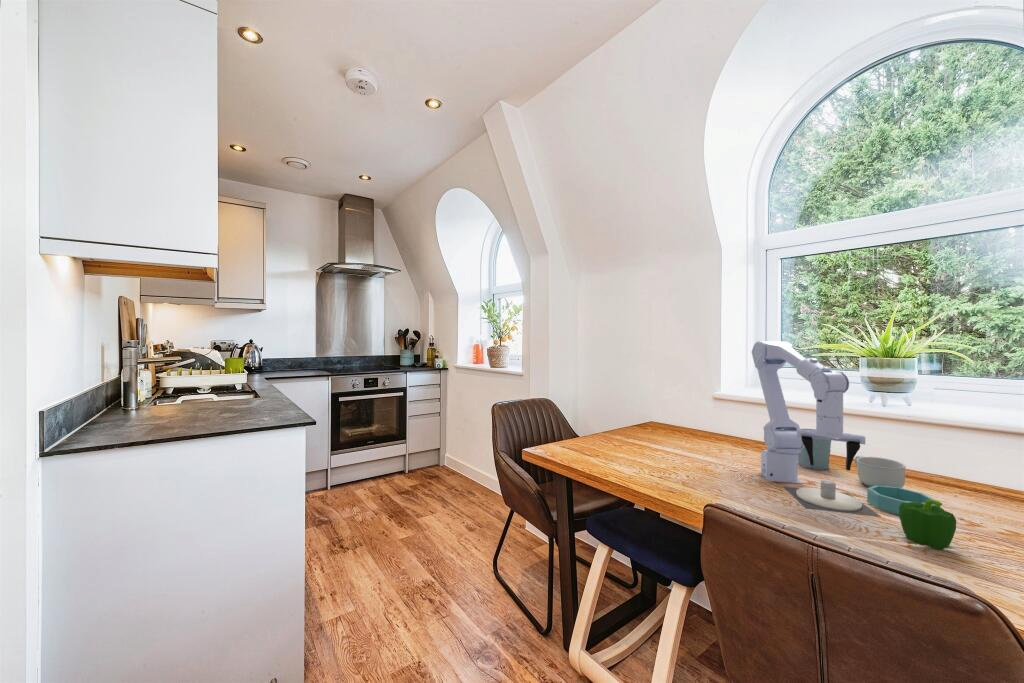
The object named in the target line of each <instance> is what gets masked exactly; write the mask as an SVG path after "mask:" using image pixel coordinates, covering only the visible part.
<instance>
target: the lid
mask: <svg viewBox="0 0 1024 683" xmlns="http://www.w3.org/2000/svg"><path fill="white" fill-rule="evenodd" d="M836 485H837V484H836V482H833V481H830V480H820V488H818V487H799V488H800V489H797V491H796V495H797V497H798V498H800V499H801V500H803V501H805V502H808V503H810V504H813V505H816V506H819V507H823V508H828V509H833V510H840V511H858V510H860V509H862V503H863V502H862V501H860V500H859V499H857V498H856V497H854V496H853V497H851V496H849V495H846V494H843V493H839V492H840V491H837V490H836V489H837V487H836Z"/></svg>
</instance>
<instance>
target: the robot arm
mask: <svg viewBox="0 0 1024 683" xmlns="http://www.w3.org/2000/svg"><path fill="white" fill-rule="evenodd" d="M751 355H752V359H753V363H754V367H755V368H756V369H757V373H758V378H759V380H760V385H761V389H762V394H763V397H764V401H765V405H766V409H767V414H768V418H769V421H768V422H767V423H765V425H764V426H763V442H764V444H765V445H766V447H767V449H763V450H762V451H761V454H760V455H761V456H760V458H761V460H760V474H761V475H762V476H763V477H764V478H765V479H766V480H767V481H772V482H780V483H781V482H782V483H791V484H792V483H793V484H804V482H803V481H801V479H800V478H798V477H799V476H798V475H799V463H798V453H801V450H802V449H803V448H804V446H805V448H806V450H807V453H808V455H809V459H810V465H813V466H814V461H813V439H812V438H816V439H825V440H831V441H835V442H845V446H846V456H845V458H846V459H845V470H846V471H849V472H850V471H851V467H852V464H853V461H854V460H855V457H856V455H857V453H858V452H859V450H860V448H861V445H866V436H865V435H859V434H853V433H845V432H844V393H846V392H847V391H848V390H849V388H850V380H849V378H848V376H847V375H846V374H845V373H844V372H843V371H832V369H831V368H830V367H829V366H825V365H824V364H822V363H820V362H819V360H818V359H817V358H813V357H812V358H810V357H809V358H806V357H804V356H803V355H802V354H801V353H799V352H798V351H797V350H795V349H794V346H793V344H792V343H790V342H789V341H786V340H782V341H762V340H758V341H755V343H754V345H753V347H752V349H751ZM786 363H788V364H790V365H791V366H793V367H794V368H796V373H797V374H798V375H800V376H801V377H802V378H803V379H805V380H806V381H808V382H809V383H810V386H811V389H812V390H813V397H814V399H815V401H816V403H815V404H816V411H815V412H816V415H815V416H816V420H815V422H816V426H815V428H816V430H803V429H804V428H801V427H800V424H798V423H797V422H795V421H794V420H793V419H791V418H790V415H789V411H788V407H787V404H786V400H785V398H784V393H783V389H782V386H781V382H780V379H779V375H778V374H779V373H778V371H779V370H780V369H782V368H783V367H784V366H785V365H786ZM821 436H822V437H821ZM826 437H827V438H826Z"/></svg>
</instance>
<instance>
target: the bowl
mask: <svg viewBox="0 0 1024 683" xmlns="http://www.w3.org/2000/svg"><path fill="white" fill-rule="evenodd" d="M866 493H867V494H866V497H867V498H866V502H868V503H869V504H870V505H872V506H874V508H876V509H877V510H880V511H883V512H887V513H891V514H895V515H898V516H899V506H900V505H901V503H910V502H915V501H918V502H921V503H923V504H925V502H926V501H927V500H935V498H932V497H931V496H928V495H927V494H925V493H923V492H919V491H914V490H910V489H906V488H903V487H902V488H899V487H890V486H879V485H875V486H872V487H869V486H868V487H867V490H866ZM932 505H935V504H932ZM936 506H937V505H936Z"/></svg>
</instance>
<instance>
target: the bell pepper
mask: <svg viewBox="0 0 1024 683" xmlns="http://www.w3.org/2000/svg"><path fill="white" fill-rule="evenodd" d="M932 504H935V505H932ZM936 505H937V506H936ZM942 506H943V503H942V502H941V501H939V500H936V499H934V500H927V501H926V502H925V504H923V503H921V502H918V501H915V502H910V503H901V505H900V506H899V515H898V516H899V520H900V524H901V527H902V531H903V534H904V535H905V537H906V538H907V539H908V540H910V541H912V542H914V543H916V544H920V545H922V546H923V545H924V546H925V545H926V546H928V547H929V548H934V549H937V550H939V549H940V550H944V549H946V548H948V547H949V546H950V545H951V543H952V541H953V538H954V536H955V533H956V530H957V519H956V517H955V515H954V514H953V513H952V512H949V511H946V510H945V509H944V508H942Z"/></svg>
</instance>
